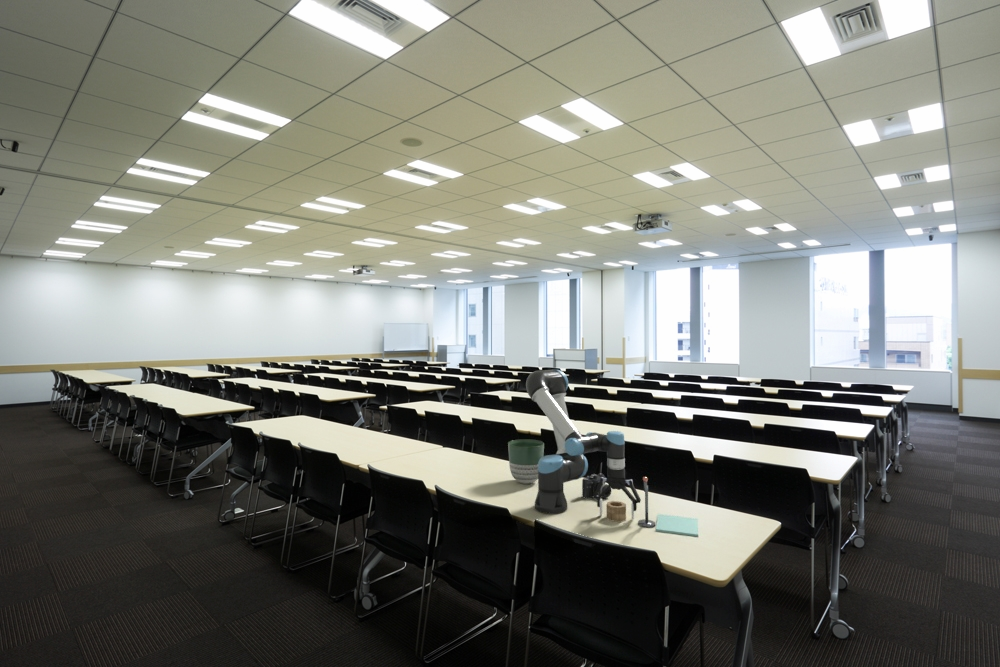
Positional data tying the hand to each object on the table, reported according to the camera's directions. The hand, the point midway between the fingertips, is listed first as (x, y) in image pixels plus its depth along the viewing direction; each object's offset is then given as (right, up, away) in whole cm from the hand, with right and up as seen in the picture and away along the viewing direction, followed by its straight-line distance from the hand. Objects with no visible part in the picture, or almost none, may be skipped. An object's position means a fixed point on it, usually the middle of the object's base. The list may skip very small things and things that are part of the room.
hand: (616, 516), depth 214 cm
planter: (-37, -2, +53) cm, 64 cm away
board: (+23, -1, -9) cm, 25 cm away
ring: (0, -1, 0) cm, 1 cm away
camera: (-2, -1, +29) cm, 29 cm away
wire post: (+10, -1, -9) cm, 14 cm away
